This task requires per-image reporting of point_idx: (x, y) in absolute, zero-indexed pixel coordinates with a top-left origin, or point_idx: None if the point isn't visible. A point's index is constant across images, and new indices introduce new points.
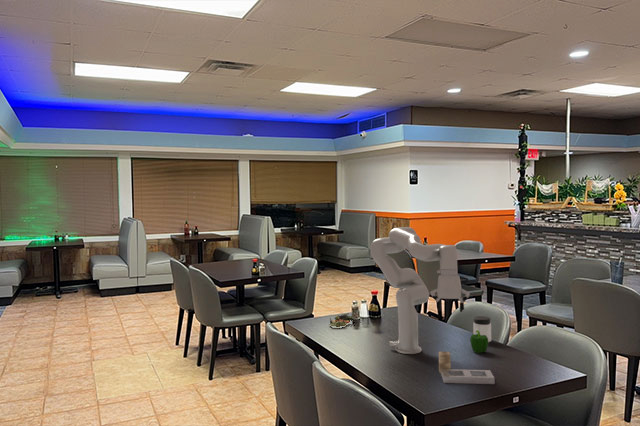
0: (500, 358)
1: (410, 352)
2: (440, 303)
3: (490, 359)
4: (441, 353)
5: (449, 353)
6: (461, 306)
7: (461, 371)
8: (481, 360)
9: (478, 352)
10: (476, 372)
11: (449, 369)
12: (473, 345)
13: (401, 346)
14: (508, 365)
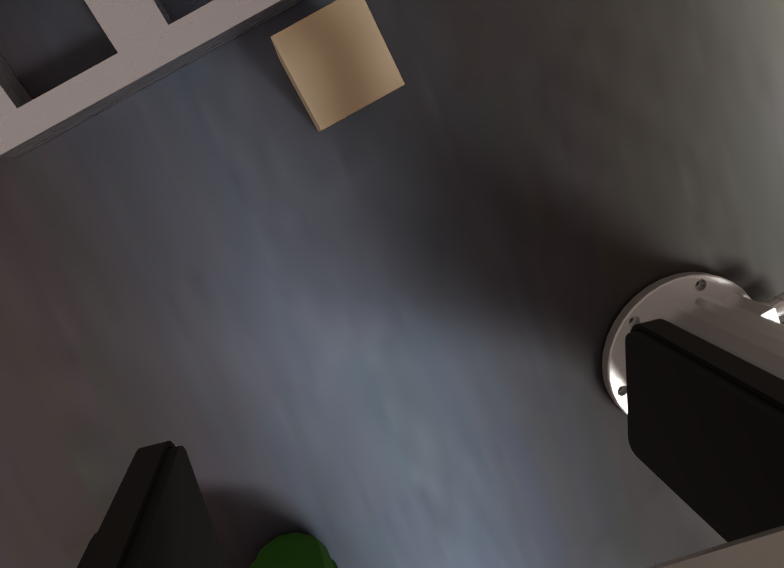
0: None
1: (651, 289)
2: (736, 513)
3: None
4: (361, 39)
5: (298, 80)
6: (96, 548)
7: (175, 23)
8: (213, 425)
9: (283, 535)
10: (75, 79)
11: (266, 2)
12: (312, 557)
13: (733, 305)
14: (21, 431)
